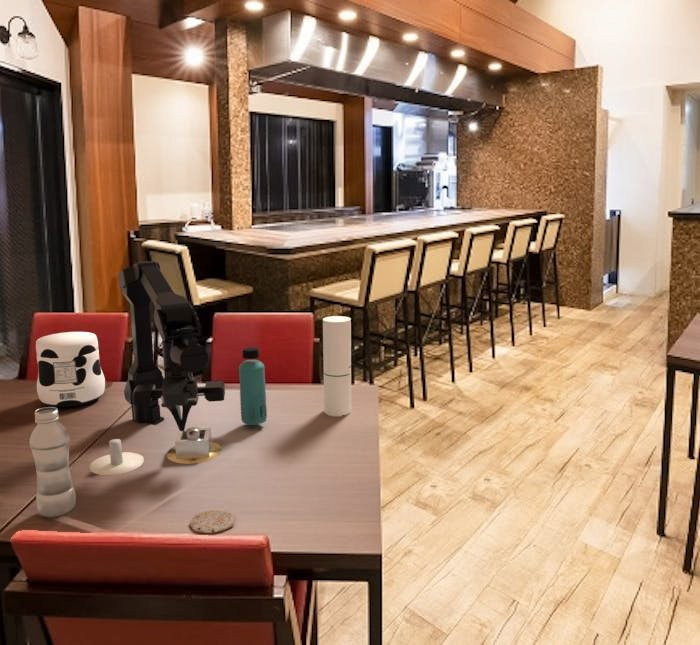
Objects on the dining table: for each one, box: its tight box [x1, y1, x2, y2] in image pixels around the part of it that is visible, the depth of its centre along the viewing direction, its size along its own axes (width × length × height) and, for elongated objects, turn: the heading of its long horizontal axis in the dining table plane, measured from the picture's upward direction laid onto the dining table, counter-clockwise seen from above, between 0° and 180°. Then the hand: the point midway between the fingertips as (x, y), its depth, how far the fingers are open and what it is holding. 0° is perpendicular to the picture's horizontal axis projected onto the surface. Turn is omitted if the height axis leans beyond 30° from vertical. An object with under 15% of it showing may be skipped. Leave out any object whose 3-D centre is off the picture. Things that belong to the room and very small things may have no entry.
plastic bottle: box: [29, 406, 77, 518], centre depth 115 cm, size 6×7×20 cm
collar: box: [174, 427, 212, 459], centre depth 141 cm, size 7×7×4 cm
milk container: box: [35, 331, 106, 408], centre depth 175 cm, size 17×17×18 cm
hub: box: [166, 426, 223, 465], centre depth 141 cm, size 12×12×6 cm
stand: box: [88, 438, 145, 476], centre depth 135 cm, size 11×11×6 cm
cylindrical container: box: [322, 315, 352, 417], centre depth 165 cm, size 7×7×25 cm
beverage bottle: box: [238, 346, 268, 426], centre depth 156 cm, size 6×7×20 cm
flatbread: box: [189, 509, 236, 534], centre depth 114 cm, size 8×8×1 cm
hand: (182, 430), depth 137 cm, fingers closed
